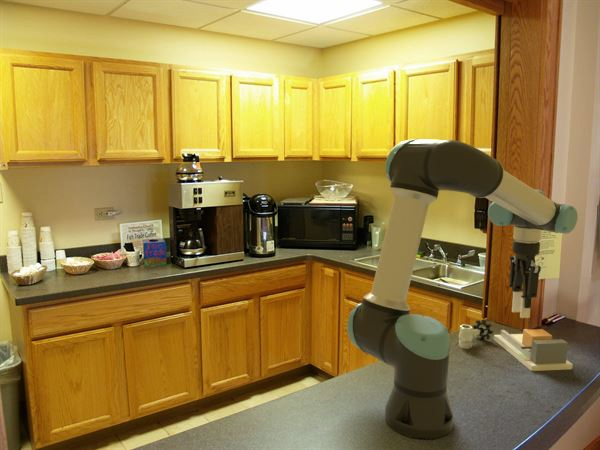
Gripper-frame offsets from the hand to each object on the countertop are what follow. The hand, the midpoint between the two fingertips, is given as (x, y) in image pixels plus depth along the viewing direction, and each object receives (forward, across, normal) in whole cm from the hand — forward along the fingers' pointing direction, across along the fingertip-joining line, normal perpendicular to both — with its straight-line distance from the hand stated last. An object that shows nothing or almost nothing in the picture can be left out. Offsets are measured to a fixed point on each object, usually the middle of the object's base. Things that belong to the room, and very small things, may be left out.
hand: (520, 314), depth 155 cm
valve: (+10, +2, +14) cm, 17 cm away
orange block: (+8, -10, 0) cm, 13 cm away
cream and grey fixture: (+10, -7, 0) cm, 12 cm away
